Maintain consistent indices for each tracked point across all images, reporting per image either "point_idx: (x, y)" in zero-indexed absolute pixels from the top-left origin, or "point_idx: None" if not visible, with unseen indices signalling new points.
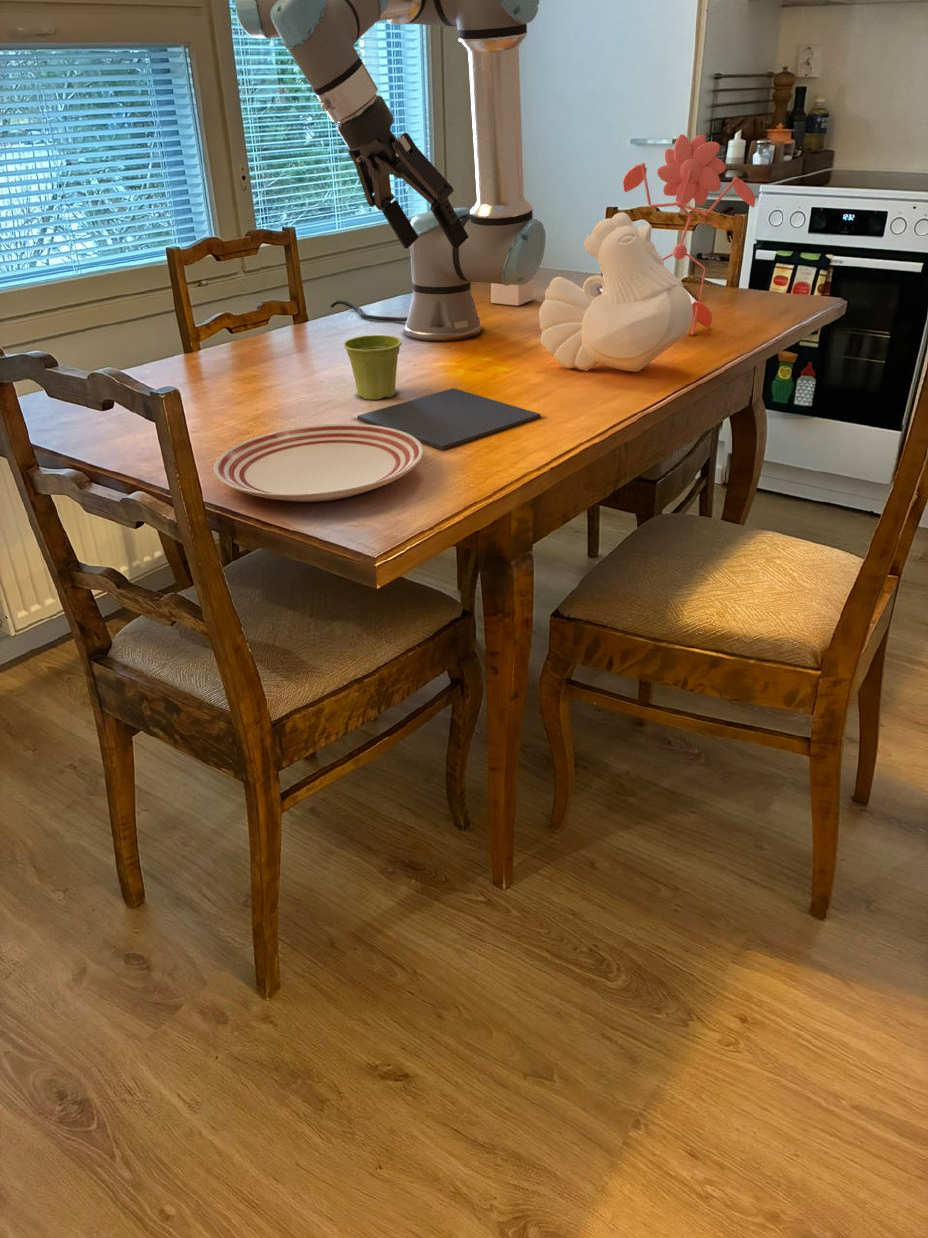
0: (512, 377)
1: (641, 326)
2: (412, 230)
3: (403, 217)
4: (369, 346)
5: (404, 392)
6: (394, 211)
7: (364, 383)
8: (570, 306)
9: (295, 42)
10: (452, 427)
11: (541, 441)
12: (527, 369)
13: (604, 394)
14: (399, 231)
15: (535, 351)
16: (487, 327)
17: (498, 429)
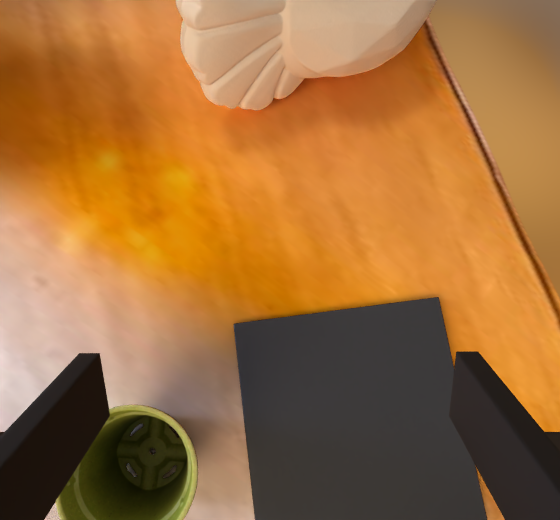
0: (232, 197)
1: (413, 14)
2: (81, 384)
3: (41, 439)
4: None
5: (178, 398)
6: (13, 511)
7: (164, 497)
8: (257, 25)
9: None
10: (417, 454)
11: (526, 366)
12: (211, 150)
13: (397, 152)
14: (72, 461)
15: (131, 71)
16: None
17: None
